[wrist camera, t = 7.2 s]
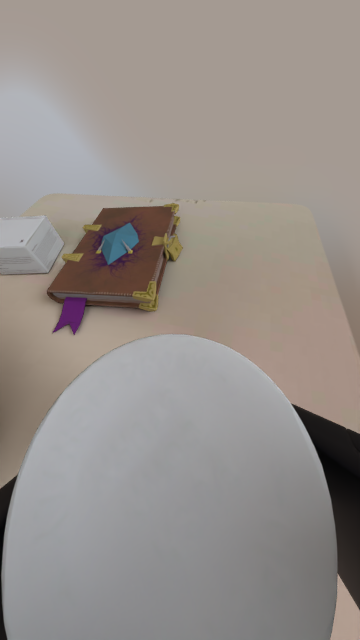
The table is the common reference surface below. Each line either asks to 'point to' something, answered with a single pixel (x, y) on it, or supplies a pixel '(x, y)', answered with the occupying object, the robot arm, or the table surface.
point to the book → (117, 262)
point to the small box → (28, 245)
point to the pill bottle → (170, 506)
